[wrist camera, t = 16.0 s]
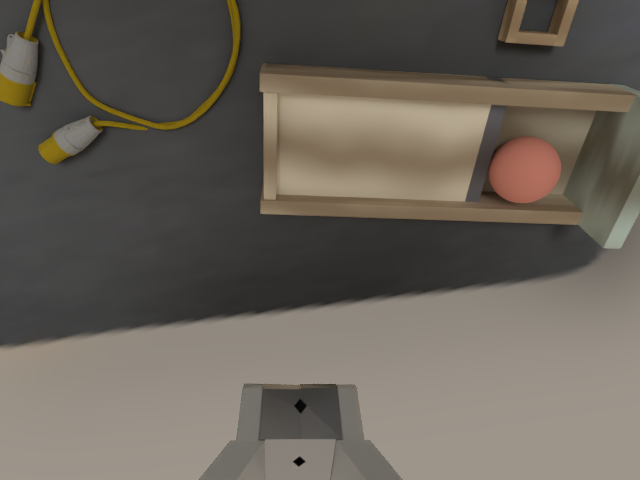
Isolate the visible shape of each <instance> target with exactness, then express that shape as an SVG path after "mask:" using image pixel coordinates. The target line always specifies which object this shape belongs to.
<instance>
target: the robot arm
mask: <svg viewBox="0 0 640 480" xmlns="http://www.w3.org/2000/svg"><path fill="white" fill-rule="evenodd" d="M199 480H402V479H401V477H400V476H399V475H398V474H397V473H396V471H395V470H394V469H393V468H392V466H391V465H390V464H389V463H388V462H387V460H385V458H384V457H383V456H382V454H381V453H380V452H379V451H378V449H377V448H376V447H375V446H374V445H373V444H372V442H371V441H370V440H364V435H363V429H362V421H361V414H360V408H359V401H358V394H357V388H356V386H355V385H336V384H304V385H303V384H300V385H278V384H244V386H243V389H242V397H241V406H240V413H239V421H238V429H237V438H236V441H230V442H229V443H228V444H227V446H226V447H225V448H224V449H223V450H222V452H221V453H220V454H219V455H218V457H217V458H216V459H215V460H214V462H213V463H212V464H211V465H210V466H209V468H208V469H207V470H206V471H205V473H204V474H203V475H202V476H201V478H200V479H199Z"/></svg>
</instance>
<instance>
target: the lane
mask: <svg viewBox="0 0 640 480" xmlns="http://www.w3.org/2000/svg"><path fill="white" fill-rule="evenodd" d="M260 92H263V98H264V181H263V186H262V193H261V201H260V203H261V214H279V215H308V216H337V217H366V218H395V219H424V220H453V221H482V222H512V223H541V224H570V225H579V226H580V227H581V228H582V229H583V230H584V231H585V232H586V233H587V234H589V235H590V236H591V237H592V238H593V239H594V240H595V241H596V242H597V243H598V244H599V245H600V246H601V247H603V248H617V249H620V248H621V247H622V245H623V243H624V241H625V239H626V237H627V235H628V233H629V232H630V230H631V228H632V226H633V224H634V222H635V220H636V218H637V216H638V214H639V212H640V91H637V90H635V89H632V88H630V87H627V86H624V85H616V84H599V83H583V82H567V81H550V80H534V79H518V78H501V77H485V76H468V75H452V74H436V73H419V72H403V71H387V70H370V69H354V68H337V67H321V66H305V65H288V64H272V63H263V64H262V67H261V71H260ZM518 137H536V138H539V139H542V140H544V141H546V142H548V143H549V144H550V145H551V146H552V147H553V148H554V149H555V150H556V152H557V153H558V155H559V158H560V161H561V174H560V178H559V180H558V182H557V184H556V186H555V187H554V189H553V190H552V191H551V192H550V193H549V194H547V195H546V196H545V197H543V198H541V199H539V200H537V201H534V202H530V203H515V202H511V201H508V200H506V199H504V198H502V197H501V196H500V195H498V194H497V193H496V191H495V190H494V189H493V187H492V185H491V183H490V180H489V175H488V170H489V165H490V162H491V158H492V157H493V155H494V153H495V152H496V151H497V150H498V149H499V148H500V147H501V146H502V145H503V144H504V143H506V142H508V141H510V140H512V139H515V138H518Z"/></svg>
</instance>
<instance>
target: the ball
mask: <svg viewBox="0 0 640 480" xmlns="http://www.w3.org/2000/svg"><path fill="white" fill-rule="evenodd" d="M560 174H561V161H560V158H559V155H558V153H557V152H556V150H555V149H554V148H553V147H552V146H551V145H550V144H549V143H548V142H546V141H544V140H542V139H539V138H536V137H518V138H515V139H512V140H510V141H508V142H506V143H504V144H503V145H502V146H501V147H500V148H499V149H498V150H497V151H496V152H495V153H494V155H493V157H492V158H491V162H490V165H489V170H488V175H489V180H490V183H491V185H492V187H493V189H494V190H495V191H496V193H497V194H498V195H500V196H501V197H502V198H504V199H506V200H508V201H511V202H515V203H530V202H534V201H537V200H539V199H541V198H543V197H545V196H546V195H547V194H549V193H550V192H551V191H552V190H553V189H554V187H555V186H556V184H557V182H558V180H559V178H560Z"/></svg>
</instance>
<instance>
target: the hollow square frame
mask: <svg viewBox="0 0 640 480" xmlns="http://www.w3.org/2000/svg"><path fill="white" fill-rule="evenodd" d="M578 2H579V0H557V4H556V7H555V10H554V13H553V16H552V19H551V23H550V26H549V29H548V32H539V31H525V30H519V28H520V25H521V21H522V18H523V14H524V11H525V7H526V4H527V0H508V2H507V6H506V10H505V13H504V17H503V21H502V25H501V29H500V33H499V36H498V40H500V41H503V42H505V43H520V44H534V45H549V46H564V43H565V40H566V37H567V34H568V31H569V28H570V25H571V22H572V19H573V17H574V14H575V11H576V8H577V5H578Z"/></svg>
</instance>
